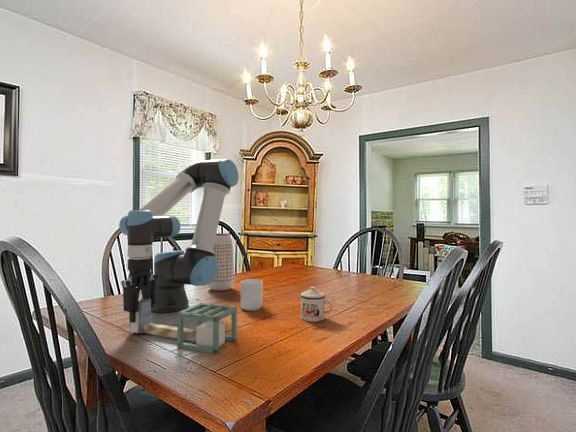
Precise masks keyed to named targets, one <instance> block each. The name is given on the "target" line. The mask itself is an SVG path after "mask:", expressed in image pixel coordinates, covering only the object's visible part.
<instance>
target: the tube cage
mask: <svg viewBox="0 0 576 432" xmlns="http://www.w3.org/2000/svg"><path fill="white" fill-rule="evenodd" d="M176 313H177V315H176V316H177V326H176V327H177V338H176V340H177V347H176V348H177V349H178V348H179V349H185V350H191V351H196V352H201V353H208V354H214V355H218V354H219V353H220V346H219V322H220V321H221V320H223V319H225V318H226V317H227V318H228V317H229V316H230V315H231V316H230V317H231V321H230V322H231V325H230V326H231V331H230V333H231V334H230V335H229V334H225V341H227V342H236V341H237V340H238V338H237V337H238V336H237V335H238V330H237V329H238V308H237V306H229V305H219V304H212V303H202V302H200V303H197V304H195V305H192V306H190V307H188V308H186V309H184V310H180V311H177V312H176ZM184 318H185V319H193V320H197V326H198V325H200V324H202V323H204V322H206V321H213V347H208V346H202V345H196V340H195V341H193V342H191V343H188V342H184V339H183V328H184Z"/></svg>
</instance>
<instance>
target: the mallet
mask: <svg viewBox="0 0 576 432" xmlns="http://www.w3.org/2000/svg"><path fill="white" fill-rule="evenodd" d="M137 312H139V332H138V333H137V334H143V333H145V334H150V335H156V336H163V337H169V338H174V339H175V338H176V339H177V326H173V325H166V324H160V323H159V324H158V323H153V322H152V311H151V299H146V298H142V297H139V300H138V307H137ZM129 332H131V322H130V321H129ZM131 333H132V332H131ZM193 339H196V329H193V328H186V327H183V340H189V341H192V340H193Z"/></svg>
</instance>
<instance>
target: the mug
mask: <svg viewBox="0 0 576 432" xmlns="http://www.w3.org/2000/svg"><path fill="white" fill-rule="evenodd" d="M263 283H264V281H263V280H261V279H255V278H249V279H247V278H246V279H243V280H240V307H241V309H242V310H244V311H247V312H248V311H249V312H250V311H251V312H252V311H254V312H255V311H260V309H261V308H262V307H263V291H264V289H263V287H264V286H263Z"/></svg>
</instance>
